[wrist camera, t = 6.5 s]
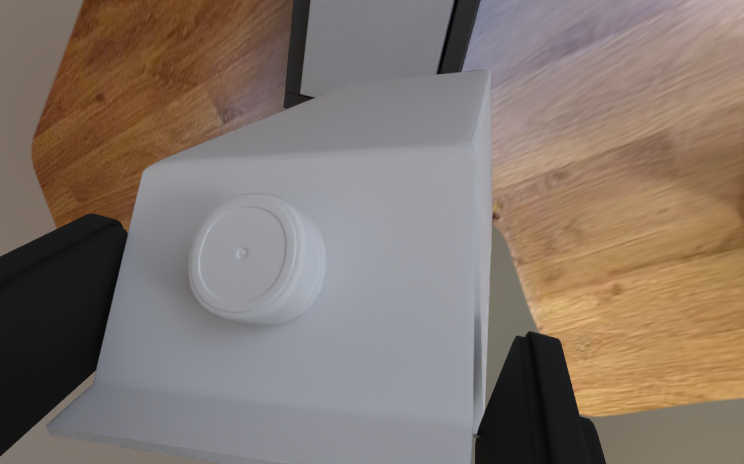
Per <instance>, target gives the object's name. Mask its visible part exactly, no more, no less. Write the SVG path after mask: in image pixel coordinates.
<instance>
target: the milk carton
mask: <svg viewBox="0 0 744 464" xmlns="http://www.w3.org/2000/svg"><path fill="white" fill-rule="evenodd" d="M491 232H492V130H491V72H490V71H489V70H478V71H468V72H458V73H448V74H439V75H429V76H419V77H409V78H400V79H390V80H380V81H371V82H361V83H353V84H349V85H346V86H343V87H341V88H339V89H336V90H334V91H331V92H329V93H326V94H324V95H321V96H319V97H316V98H314V99H311V100H309V101H306V102H304V103H301V104H299V105H296V106H294V107H291V108H289V109H286V110H284V111H281V112H279V113H276V114H274V115H271V116H269V117H266V118H264V119H261V120H259V121H256V122H254V123H251V124H249V125H246V126H244V127H241V128H239V129H236V130H234V131H231V132H229V133H226V134H224V135H221V136H219V137H216V138H214V139H211V140H209V141H206V142H204V143H201V144H199V145H196V146H194V147H191V148H189V149H186V150H184V151H182V152H179V153H177V154H174V155H172V156H169V157H167V158H165V159H162V160H160V161H158V162H156V163H155V164H153V165H151V166H149V167H147V168H146V169H144V171H143V174H142V178H141V182H140V186H139V190H138V194H137V198H136V202H135V207H134V211H133V215H132V220H131V224H130V228H129V232H128V237H127V241H126V245H125V249H124V254H123V258H122V262H121V267H120V271H119V275H118V279H117V284H116V288H115V292H114V296H113V301H112V305H111V309H110V313H109V318H108V322H107V326H106V330H105V335H104V339H103V343H102V347H101V352H100V356H99V360H98V365H97V369H96V373H95V378H94V381H93V382H94V383H93V384H92V385H91V386H90V387H89V388H88V389H87V390H85V391H84V392H83V393H82V394H81V395H80V396H78V397H77V398H76V399H75V400H74V401H73V402H72V403H70V404H69V406H67V407H66V408H65V409H64V410H63V411H61V412H60V413H59V414H58V415H57V416H56V417H55V418H54V419H52V420H51V421H50V422H49V423H48V424H47V425H46V428H47V430H48V432H49V434H50V435H52V436H59V437H64V438H70V439H77V440H82V441H88V442H95V443H101V444H107V445H113V446H120V447H125V448H132V449H138V450H144V451H150V452H156V453H162V454H169V455H174V456H181V457H187V458H193V459H200V460H205V461H211V462H218V463H224V464H471V457H472V442H473V438H481V436H479V435H477V431H478V428H479V425H480V422H481V420H482V417H483V415H484V412H485V389H486V363H487V361H486V360H487V337H488V312H489V311H488V310H489V286H490V259H491V235H492V233H491Z"/></svg>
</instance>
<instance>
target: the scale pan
mask: <svg viewBox="0 0 744 464" xmlns="http://www.w3.org/2000/svg"><path fill="white" fill-rule="evenodd" d="M454 2H455V0H311V1H310V9H309V18H308V27H307V36H306V45H305V54H304V63H303V72H302V81H301V90H300V94H302V95H306V96H310V97H314V98H316V97H319V96H321V95H324V94H326V93H329V92H331V91H334V90H336V89H339V88H341V87H343V86H346V85H349V84H353V83H361V82H371V81H380V80H390V79H400V78H409V77H419V76H429V75H437V71H438V67H439V63H440V59H441V55H442V51H443V47H444V43H445V39H446V35H447V30H448V26H449V22H450V18H451V14H452V10H453V6H454Z"/></svg>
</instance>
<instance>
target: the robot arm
mask: <svg viewBox="0 0 744 464" xmlns="http://www.w3.org/2000/svg"><path fill="white" fill-rule="evenodd" d="M127 237H128V234H127V232H126V230H125V229H123V226H122V224H121V223H120V222H119V221H118V220H115V219H112V218H108V217H104V216H101V215H97V214H88V215H85V216H83V217H81V218H79V219H77V220H75V221H73V222H71V223H69V224H66V225H64V226H62V227H60V228H58V229H56V230H54V231H52V232H50V233H48V234H46V235H44V236H42V237H40V238H38V239H35V240H34V241H32V242H29V243H27V244H25V245H23V246H21V247H19V248H17V249H15V250H13V251H11V252H9V253H7V254H5V255H2V256H1V257H0V456H1V455H2V454H3V453H5V452H6V451H7V450H8V449H9V448H10V447H11V446H12V445H13V444H14V443H16V442H17V441H18V440H19V439H20V438H21V437H22V436H23V435H24V434H26V433H27V432H28V431H29V430H30V429H31V428H32V427H33V426H35V425H36V424H37V423H38V422H39V421H40V420H41V419H42V418H43V417H44V416H46V415H47V414H48V413H49V412H50V411H51V410H52V409H53V408H54V407H56V406H57V405H58V404H59V403H60V402H61V401H62V400H63V399H64V398H66V397H67V396H68V395H69V394H70V393H71V392H72V391H73V390H74V389H76V388H77V387H78V386H79V385H80V384H81V383H82V382H83V381H84V380H86V379H87V378H88V377H89V376H90V375H91V374H92V373H93V372H94V371H95V370H96V369H97V365H98V360H99V356H100V352H101V347H102V343H103V339H104V335H105V330H106V326H107V322H108V318H109V313H110V309H111V305H112V301H113V296H114V292H115V288H116V284H117V279H118V275H119V271H120V267H121V262H122V258H123V254H124V249H125V245H126V241H127ZM477 435H479V436H481V438H476V442H475V464H606V462H605V458H604V455H603V451H602V448H601V444H600V441H599V437H598V434H597V431H596V428H595V426H594V424H593V423H592V421H591V420H590V419H587V418H584V417H580V415H579V411H578V408H577V404H576V400H575V396H574V392H573V388H572V384H571V380H570V376H569V372H568V368H567V364H566V361H565V357H564V353H563V349H562V345H561V342H560V340H559V339H557V338H554V337H550V336H546V335H543V334H539V333H535V332H531V331H529V332H528V333H527V334H526V336H525V337H522V336H516V337H515V339H514V341H513V343H512V346H511V348H510V351H509V353H508V356H507V358H506V361H505V363H504V366H503V368H502V371H501V373H500V375H499V378H498V380H497V383H496V385H495V388H494V390H493V393H492V395H491V398H490V400H489V403H488V405H487V408H486V410H485V412H484V415H483V417H482V420H481V422H480V425H479V428H478V431H477Z"/></svg>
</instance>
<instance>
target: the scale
mask: <svg viewBox="0 0 744 464" xmlns="http://www.w3.org/2000/svg"><path fill="white" fill-rule="evenodd" d="M310 1H311V0H294V4H293V15H292V25H291V35H290V46H289V56H288V66H287V77H286V87H285V98H284V108H286V109H289V108H291V107H294V106H296V105H299V104H301V103H304V102H306V101H309V100H311V99H314V97H310V96H306V95H302V94H300V90H301V81H302V72H303V63H304V54H305V45H306V36H307V27H308V18H309V9H310ZM480 1H481V0H455V2H454V6H453V10H452V14H451V18H450V22H449V26H448V30H447V35H446V39H445V43H444V47H443V51H442V55H441V59H440V63H439V67H438V71H437V75H439V74H448V73H458V72H462V68H463V64H464V60H465V57H466V53H467V49H468V45H469V42H470V38H471V34H472V31H473V27H474V23H475V19H476V16H477V12H478V8H479V5H480Z"/></svg>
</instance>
